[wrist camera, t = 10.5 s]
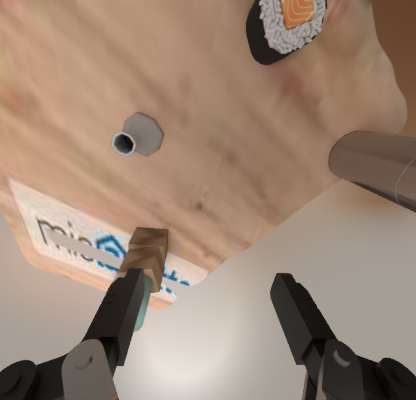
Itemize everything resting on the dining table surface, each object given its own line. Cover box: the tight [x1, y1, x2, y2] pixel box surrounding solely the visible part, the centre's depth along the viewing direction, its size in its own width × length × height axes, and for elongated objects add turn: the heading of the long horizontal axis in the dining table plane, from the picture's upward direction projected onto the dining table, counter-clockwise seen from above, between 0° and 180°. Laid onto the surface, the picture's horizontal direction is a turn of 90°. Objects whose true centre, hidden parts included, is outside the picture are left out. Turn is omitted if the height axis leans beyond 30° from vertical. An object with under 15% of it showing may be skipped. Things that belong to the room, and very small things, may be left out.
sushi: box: [246, 0, 327, 65], centre depth 25 cm, size 8×8×8 cm
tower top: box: [118, 246, 165, 293], centre depth 36 cm, size 6×6×6 cm
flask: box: [111, 112, 164, 157], centre depth 29 cm, size 7×7×10 cm
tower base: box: [128, 227, 168, 265], centre depth 41 cm, size 7×7×6 cm
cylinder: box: [133, 274, 153, 332], centre depth 30 cm, size 5×5×7 cm
